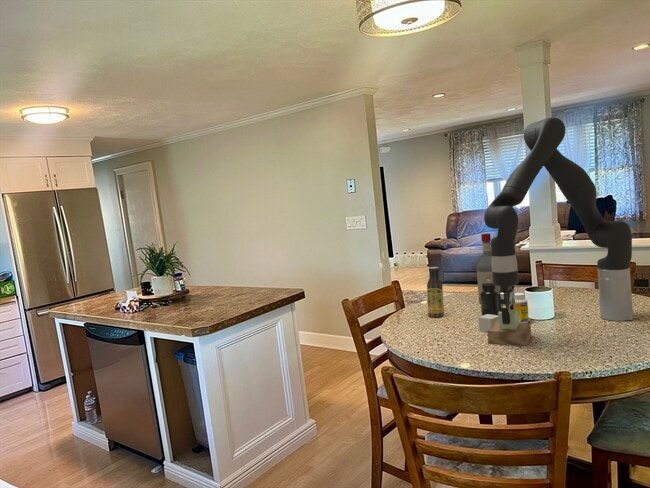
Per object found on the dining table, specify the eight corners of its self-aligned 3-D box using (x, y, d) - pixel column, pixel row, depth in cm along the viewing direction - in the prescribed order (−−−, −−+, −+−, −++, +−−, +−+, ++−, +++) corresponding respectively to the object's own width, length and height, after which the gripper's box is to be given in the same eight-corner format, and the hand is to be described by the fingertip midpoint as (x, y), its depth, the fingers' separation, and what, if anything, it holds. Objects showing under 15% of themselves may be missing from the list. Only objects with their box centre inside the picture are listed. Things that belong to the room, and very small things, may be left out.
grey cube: (501, 330, 153) (499, 315, 152) (492, 333, 150) (491, 319, 149) (488, 327, 157) (487, 314, 156) (479, 331, 154) (478, 317, 153)
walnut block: (531, 335, 143) (530, 323, 143) (526, 345, 134) (525, 332, 134) (495, 333, 149) (494, 321, 149) (488, 343, 140) (487, 330, 140)
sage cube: (518, 325, 142) (517, 309, 142) (516, 329, 138) (515, 313, 138) (502, 324, 145) (501, 309, 144) (499, 328, 141) (498, 313, 140)
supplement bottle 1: (492, 311, 178) (489, 281, 177) (504, 314, 171) (501, 284, 170) (478, 314, 176) (475, 284, 175) (489, 317, 169) (486, 286, 168)
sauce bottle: (427, 318, 178) (422, 269, 177) (429, 314, 184) (425, 266, 183) (444, 317, 176) (439, 268, 174) (446, 314, 181) (441, 265, 180)
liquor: (501, 305, 186) (496, 234, 184) (478, 305, 190) (473, 235, 188) (503, 300, 194) (497, 232, 192) (481, 300, 198) (475, 233, 196)
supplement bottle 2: (523, 324, 155) (520, 296, 155) (508, 322, 160) (506, 294, 159) (532, 321, 159) (530, 293, 158) (518, 319, 163) (515, 291, 162)
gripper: (513, 273, 132) (517, 327, 133) (521, 265, 144) (524, 315, 145) (487, 273, 136) (491, 326, 137) (496, 266, 148) (500, 314, 149)
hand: (508, 320), depth 141 cm, fingers open, 7 cm apart
